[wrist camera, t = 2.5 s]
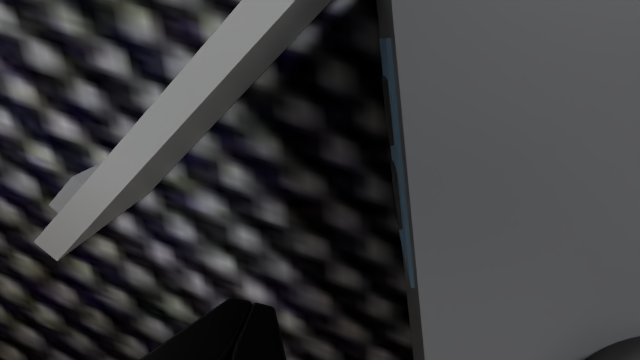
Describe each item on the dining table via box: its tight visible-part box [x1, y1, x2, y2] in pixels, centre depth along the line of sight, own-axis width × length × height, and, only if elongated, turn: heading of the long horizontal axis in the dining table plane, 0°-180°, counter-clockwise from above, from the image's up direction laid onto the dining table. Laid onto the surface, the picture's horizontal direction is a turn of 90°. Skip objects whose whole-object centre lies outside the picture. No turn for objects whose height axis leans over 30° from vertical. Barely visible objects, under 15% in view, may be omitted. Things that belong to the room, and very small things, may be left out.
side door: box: [34, 0, 331, 261], centre depth 10 cm, size 10×2×5 cm, turn 134°
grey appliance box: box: [376, 0, 640, 360], centre depth 10 cm, size 14×9×6 cm, turn 9°
